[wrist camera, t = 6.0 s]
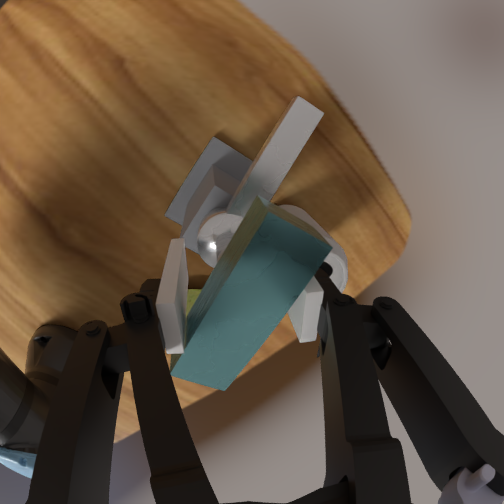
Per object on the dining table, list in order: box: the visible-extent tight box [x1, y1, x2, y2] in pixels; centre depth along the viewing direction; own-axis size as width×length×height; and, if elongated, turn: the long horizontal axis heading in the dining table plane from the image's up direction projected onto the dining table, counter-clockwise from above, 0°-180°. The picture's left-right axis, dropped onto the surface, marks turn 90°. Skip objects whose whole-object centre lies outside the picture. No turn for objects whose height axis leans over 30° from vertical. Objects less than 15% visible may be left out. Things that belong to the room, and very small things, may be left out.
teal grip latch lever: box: [170, 96, 333, 391], centre depth 15 cm, size 4×15×10 cm, turn 150°
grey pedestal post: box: [164, 136, 253, 255], centre depth 26 cm, size 10×8×12 cm
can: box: [278, 205, 348, 293], centre depth 30 cm, size 8×8×12 cm
